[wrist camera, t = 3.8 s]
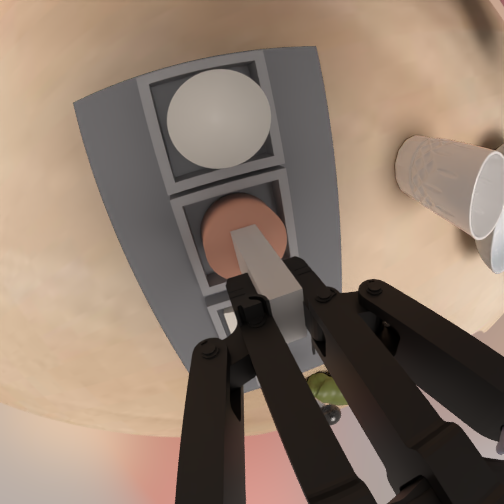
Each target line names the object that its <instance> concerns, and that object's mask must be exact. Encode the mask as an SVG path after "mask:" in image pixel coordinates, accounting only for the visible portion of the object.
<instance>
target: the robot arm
mask: <svg viewBox="0 0 504 504" xmlns="http://www.w3.org/2000/svg"><path fill="white" fill-rule="evenodd" d="M230 233H231V237H232V241H233V245H234V249H235V252H236V256H237V260H238V264H239V267H240V271H241V273H242V274H241V275H237V276H234V277H231V278H228V279H227V282H226V289H227V292H228V295H229V298H230V301H231V305H232V308H233V311H234V314H235V316H236V319H237V326H236V328H235V330H234V331H233V333H232V334H230V335H229V336H228V337H226V338H225V339H223V340H222V339H219V338H208V339H204V340H202V341H201V342H199V343H198V344H197V345H196V346H195V347H194V350H193V352H192V359H191V365H190V372H189V379H188V386H187V394H186V401H185V409H184V417H183V425H182V434H181V443H180V453H179V462H178V473H177V485H176V497H175V504H246V495H245V494H246V492H245V451H244V450H245V449H244V391H243V385H244V384H245V383H247V382H248V381H250V380H251V379H253V378H254V377H256V376H257V379H258V381H259V384H260V387H261V389H262V392H263V395H264V397H265V400H266V403H267V405H268V408H269V410H270V413H271V415H272V418H273V421H274V423H275V426H276V428H277V431H278V433H279V436H280V438H281V441H282V443H283V446H284V448H285V450H286V453H287V455H288V458H289V460H290V462H291V465H292V467H293V470H294V472H295V474H296V477H297V479H298V481H299V484H300V486H301V488H302V491H303V493H304V495H305V497H306V499H307V502H308V504H377V503H376V501H375V499H374V497H373V495H372V494H371V492H370V490H369V489H368V487H367V486H366V484H365V483H364V482H363V481H362V480H361V479H359V478H358V476H357V475H356V474H355V472H354V470H353V468H352V466H351V465H350V463H349V461H348V459H347V457H346V455H345V453H344V452H343V450H342V448H341V446H340V444H339V442H338V440H337V439H336V437H335V435H334V433H333V431H332V429H331V427H330V425H329V423H328V422H327V420H326V418H325V416H324V414H323V412H322V410H321V408H320V406H319V404H318V403H317V401H316V399H315V397H314V395H313V393H312V391H311V389H310V387H309V385H308V383H307V382H306V380H305V378H304V376H303V374H302V372H301V370H300V368H299V366H298V364H297V362H296V360H295V358H294V357H293V355H292V353H291V351H290V349H289V347H288V345H287V343H290V342H293V341H295V340H298V339H301V338H303V337H306V336H307V329H308V331H309V333H310V334H311V343H312V353H313V355H315V349H316V351H317V353H318V355H319V356H320V358H321V360H322V361H323V363H324V365H325V366H326V368H327V370H328V371H329V373H330V375H331V376H332V378H333V380H334V381H335V383H336V385H337V386H338V388H339V390H340V391H341V393H342V395H343V397H344V398H345V400H346V402H347V403H348V405H349V407H350V408H351V410H352V412H353V413H354V415H355V416H356V418H357V420H358V422H359V423H360V425H361V427H362V428H363V430H364V432H365V434H366V435H367V437H368V439H369V440H370V442H371V444H372V445H373V447H374V449H375V451H376V452H377V454H378V456H379V457H380V459H381V461H382V462H383V464H384V466H385V468H386V472H387V478H388V481H389V483H390V485H391V486H392V488H393V490H394V492H395V494H396V496H395V497H394V498H393V499H392V500H391V501H390V502H389V503H387V504H504V460H498V459H491V458H484V457H482V456H481V454H480V453H479V451H478V450H477V449H476V447H475V446H474V444H473V443H472V442H471V440H470V439H469V437H468V436H467V435H466V433H465V432H464V431H463V429H462V428H461V427H460V426H459V425H457V424H456V423H454V422H446V421H443V420H442V418H440V416H439V415H438V413H437V412H436V411H435V409H434V408H433V407H432V405H431V404H430V403H429V401H428V400H427V399H426V398H425V396H424V395H423V394H422V392H421V391H420V390H419V388H418V387H420V388H421V389H422V390H423V391H425V392H426V393H427V394H429V395H430V396H431V397H432V398H434V399H435V400H436V401H438V402H439V403H440V404H441V405H443V406H444V407H445V408H447V409H448V410H449V411H450V412H452V413H453V414H454V415H455V416H457V417H458V418H459V419H461V420H462V421H463V422H464V423H466V424H467V425H468V426H469V427H471V428H472V429H474V430H475V431H476V432H478V433H479V434H481V435H483V436H484V437H487V438H489V439H491V440H494V441H498V444H497V446H496V451H497V453H498V454H500V455H502V454H504V357H503V356H502V355H500V354H499V353H497V352H496V351H494V350H493V349H491V348H490V347H488V346H487V345H485V344H484V343H482V342H481V341H479V340H478V339H476V338H475V337H473V336H472V335H470V334H469V333H467V332H466V331H464V330H462V329H461V328H459V327H458V326H456V325H455V324H453V323H451V322H450V321H448V320H447V319H445V318H443V317H442V316H440V315H439V314H437V313H435V312H434V311H432V310H431V309H429V308H427V307H426V306H424V305H422V304H421V303H419V302H417V301H416V300H414V299H412V298H411V297H409V296H407V295H406V294H404V293H402V292H401V291H399V290H397V289H396V288H394V287H392V286H391V285H389V284H387V283H385V282H383V281H381V280H377V279H371V280H366V281H364V282H362V283H361V285H360V286H359V290H358V291H356V292H349V293H340V292H339V291H338V290H336V289H335V288H333V287H329V286H326V285H325V284H324V283H323V282H322V281H321V279H320V278H319V277H318V276H317V275H316V274H315V272H314V271H312V269H311V268H310V267H309V266H308V264H307V263H306V262H305V261H304V260H303V259H301V258H299V257H297V256H294V257H291V258H288V259H285V260H281V258H280V257H279V256H278V254H277V253H276V251H275V250H274V249H273V247H272V246H271V245H270V243H269V242H268V241H267V239H266V238H265V237H264V235H263V234H262V233H261V231H260V230H259V229H258V227H257V226H256V224H253V225H250V226H247V227H243V228H240V229H237V230H233V231H230ZM416 385H417V386H418V387H417V386H416Z"/></svg>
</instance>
